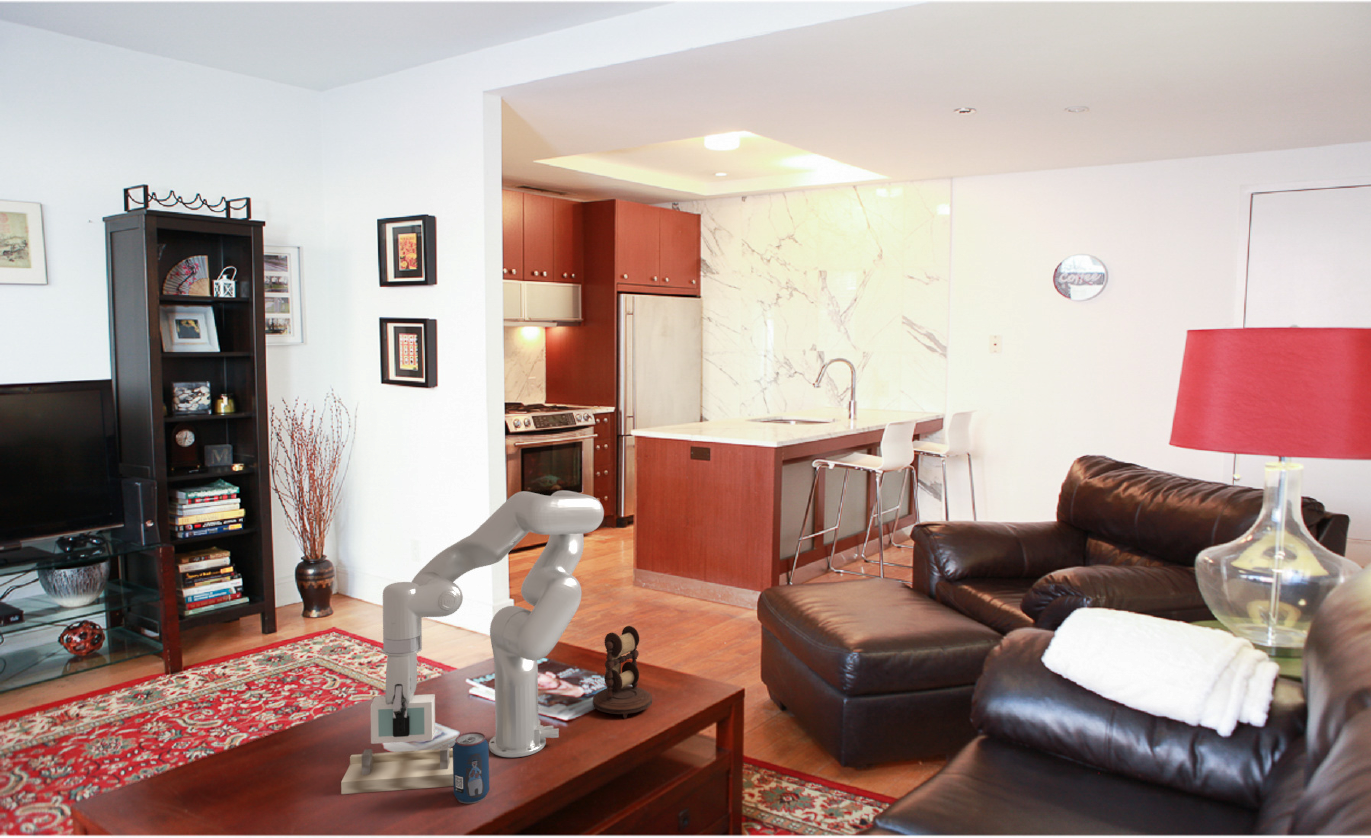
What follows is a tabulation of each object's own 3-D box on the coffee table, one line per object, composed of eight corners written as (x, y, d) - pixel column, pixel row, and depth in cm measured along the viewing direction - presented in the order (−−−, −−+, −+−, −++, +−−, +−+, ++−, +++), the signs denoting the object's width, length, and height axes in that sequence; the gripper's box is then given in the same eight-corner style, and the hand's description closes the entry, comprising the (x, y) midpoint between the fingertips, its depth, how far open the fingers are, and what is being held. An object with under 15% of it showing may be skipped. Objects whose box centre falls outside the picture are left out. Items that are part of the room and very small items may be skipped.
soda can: (471, 785, 179) (470, 728, 179) (496, 793, 176) (495, 735, 175) (446, 799, 173) (444, 740, 173) (472, 808, 170) (470, 748, 169)
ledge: (468, 765, 188) (467, 735, 188) (464, 785, 179) (463, 754, 179) (351, 773, 185) (350, 743, 184) (341, 794, 176) (340, 762, 175)
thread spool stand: (619, 692, 229) (618, 617, 228) (663, 705, 221) (663, 627, 219) (580, 710, 217) (579, 631, 216) (626, 725, 209) (625, 642, 207)
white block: (435, 731, 184) (434, 694, 183) (432, 740, 179) (431, 702, 179) (375, 734, 182) (375, 696, 182) (371, 743, 178) (370, 705, 177)
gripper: (391, 632, 187) (392, 715, 188) (375, 657, 171) (376, 749, 172) (427, 630, 188) (428, 713, 189) (414, 656, 172) (415, 747, 173)
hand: (403, 729), depth 181 cm, fingers closed on white block, 4 cm apart
